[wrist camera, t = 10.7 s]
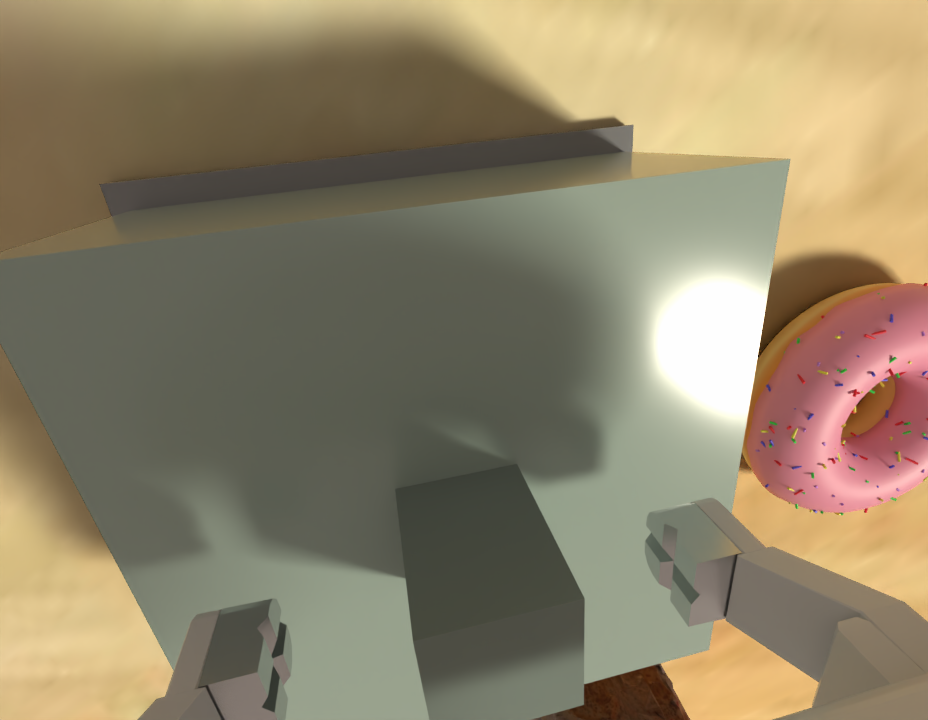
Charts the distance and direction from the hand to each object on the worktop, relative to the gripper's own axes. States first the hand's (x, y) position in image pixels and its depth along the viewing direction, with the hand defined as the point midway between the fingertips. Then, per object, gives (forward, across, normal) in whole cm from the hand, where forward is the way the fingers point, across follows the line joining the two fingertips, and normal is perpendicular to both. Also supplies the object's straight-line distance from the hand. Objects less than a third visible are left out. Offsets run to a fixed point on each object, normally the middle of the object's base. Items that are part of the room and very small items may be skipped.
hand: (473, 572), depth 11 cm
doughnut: (+10, -19, +4) cm, 22 cm away
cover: (+9, 0, 0) cm, 9 cm away
